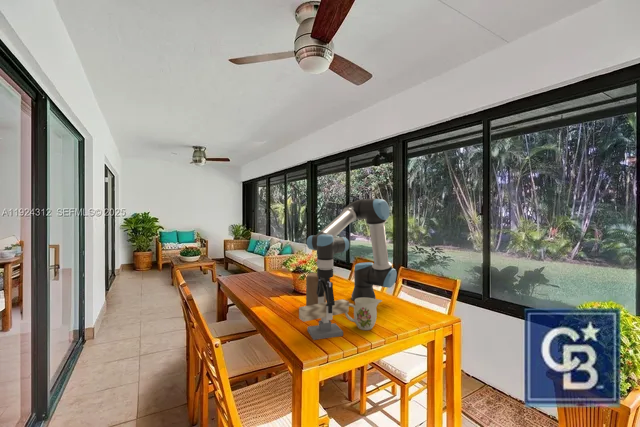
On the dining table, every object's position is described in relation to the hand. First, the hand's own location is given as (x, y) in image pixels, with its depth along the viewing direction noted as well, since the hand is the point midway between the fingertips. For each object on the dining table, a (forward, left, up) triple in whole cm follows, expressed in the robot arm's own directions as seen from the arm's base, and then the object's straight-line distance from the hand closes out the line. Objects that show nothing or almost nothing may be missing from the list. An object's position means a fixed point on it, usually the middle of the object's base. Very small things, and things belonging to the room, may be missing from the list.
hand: (324, 315), depth 136 cm
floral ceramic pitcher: (-20, -1, -9) cm, 22 cm away
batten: (0, 0, 0) cm, 0 cm away
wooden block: (-6, -33, -9) cm, 35 cm away
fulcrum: (0, 0, -8) cm, 8 cm away
